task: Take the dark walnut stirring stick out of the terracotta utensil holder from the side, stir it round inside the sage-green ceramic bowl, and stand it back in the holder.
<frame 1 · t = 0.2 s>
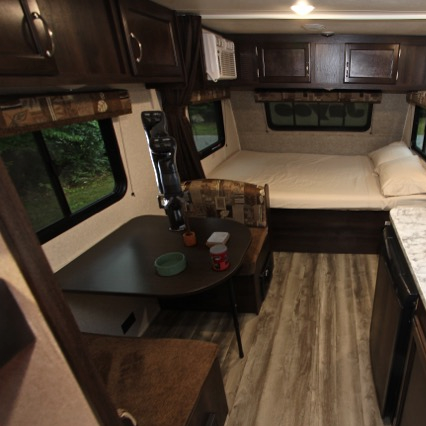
hand: (178, 213, 139), 29 cm above the table, tool pointing down, fingers open, 8 cm apart
canned food: (221, 266, 150), on the table
holder: (190, 243, 169), on the table
soap dish: (218, 244, 169), on the table
bowl: (171, 267, 148), on the table
stick: (190, 243, 169), point 1 cm above the table, touching holder
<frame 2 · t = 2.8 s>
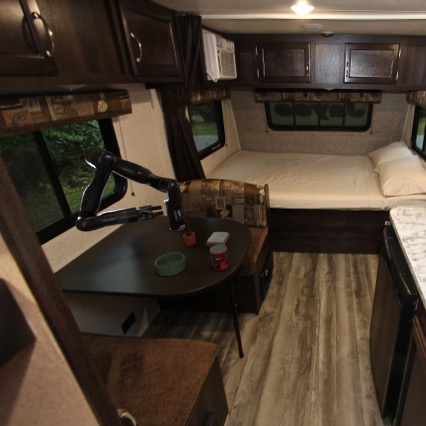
hand: (162, 210, 154), 24 cm above the table, tool horizontal, fingers open, 8 cm apart
nothing on the table moved.
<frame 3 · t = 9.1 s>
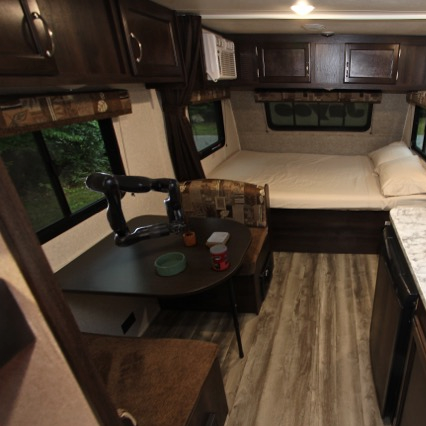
hand: (192, 223, 165), 13 cm above the table, tool horizontal, fingers closed on stick, 2 cm apart
stick: (190, 243, 169), point 1 cm above the table, touching gripper, holder
everything else where it was.
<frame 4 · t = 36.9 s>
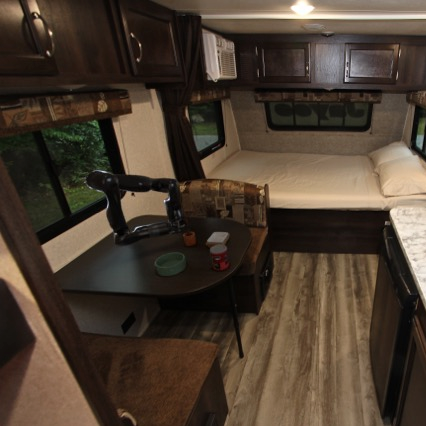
hand: (190, 222, 164), 13 cm above the table, tool horizontal, fingers open, 8 cm apart
stick: (190, 243, 169), point 1 cm above the table, touching holder
everything else where it was.
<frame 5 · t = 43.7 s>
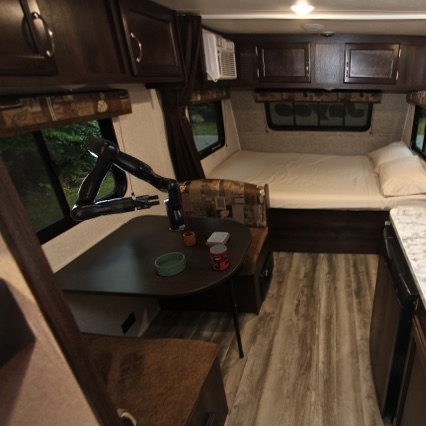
hand: (159, 199, 151), 30 cm above the table, tool horizontal, fingers open, 8 cm apart
nothing on the table moved.
at the end: stick 0.2 cm off-centre in the holder, point 0.6 cm above the holder's base; stick touching holder; the gripper is holding nothing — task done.
